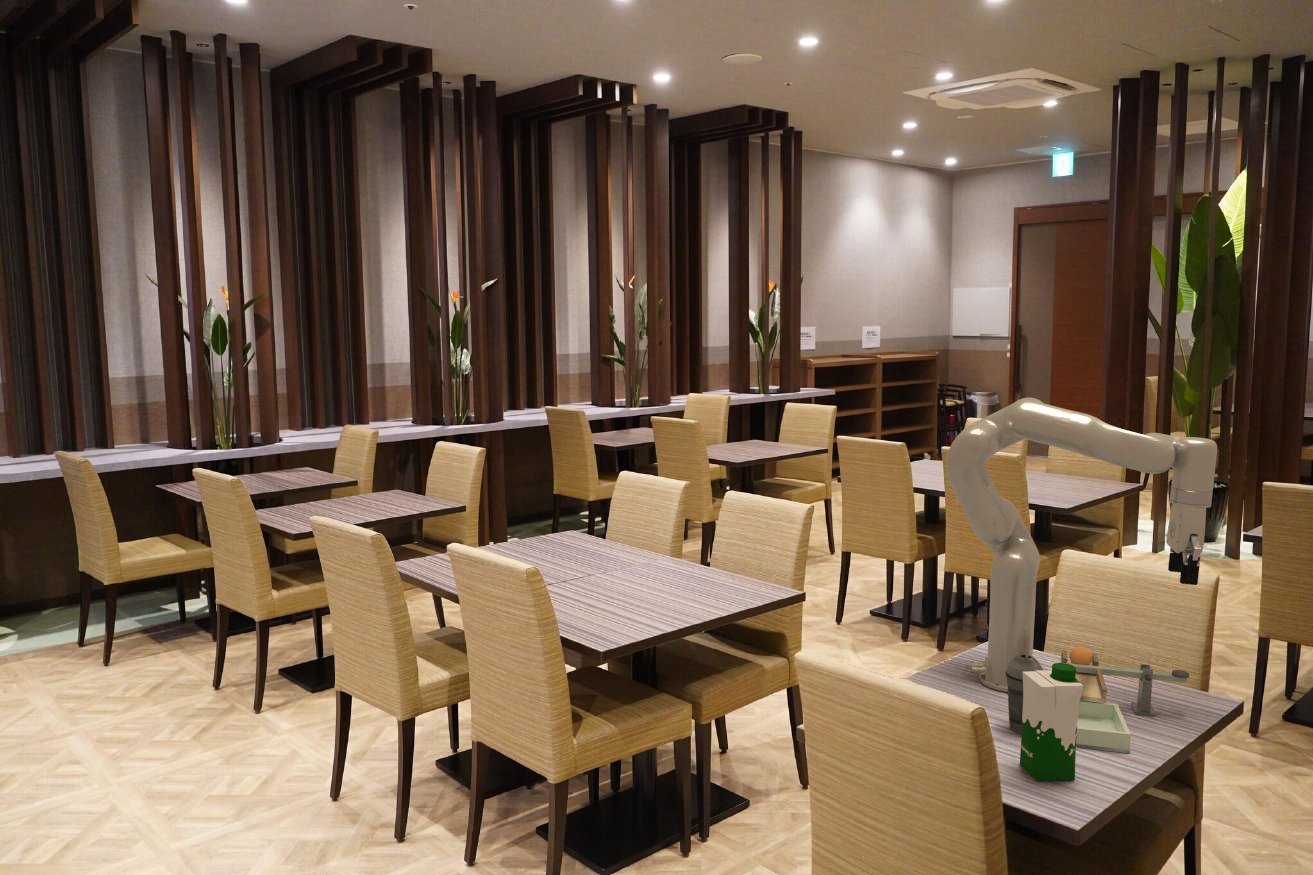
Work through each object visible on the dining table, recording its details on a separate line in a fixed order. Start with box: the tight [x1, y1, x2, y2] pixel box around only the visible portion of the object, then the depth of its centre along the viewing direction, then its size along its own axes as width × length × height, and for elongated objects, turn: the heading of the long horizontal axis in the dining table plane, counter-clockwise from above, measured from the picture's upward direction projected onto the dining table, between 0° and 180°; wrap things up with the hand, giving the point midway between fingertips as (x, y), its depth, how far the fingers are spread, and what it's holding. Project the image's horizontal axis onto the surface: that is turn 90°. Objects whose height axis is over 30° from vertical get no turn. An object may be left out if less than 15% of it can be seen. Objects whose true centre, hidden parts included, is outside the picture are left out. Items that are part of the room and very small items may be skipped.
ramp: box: [1060, 650, 1108, 703], centre depth 209 cm, size 7×16×10 cm, turn 164°
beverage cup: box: [1006, 636, 1044, 736], centre depth 196 cm, size 7×7×20 cm
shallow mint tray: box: [1076, 700, 1132, 754], centre depth 196 cm, size 12×15×4 cm
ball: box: [1069, 646, 1092, 665], centre depth 213 cm, size 4×4×4 cm
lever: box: [1066, 663, 1190, 684], centre depth 208 cm, size 25×3×2 cm, turn 74°
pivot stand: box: [1130, 663, 1157, 718], centre depth 207 cm, size 4×5×10 cm
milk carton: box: [1019, 662, 1083, 783], centre depth 178 cm, size 9×9×20 cm
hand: (1182, 577), depth 205 cm, fingers open, 9 cm apart
